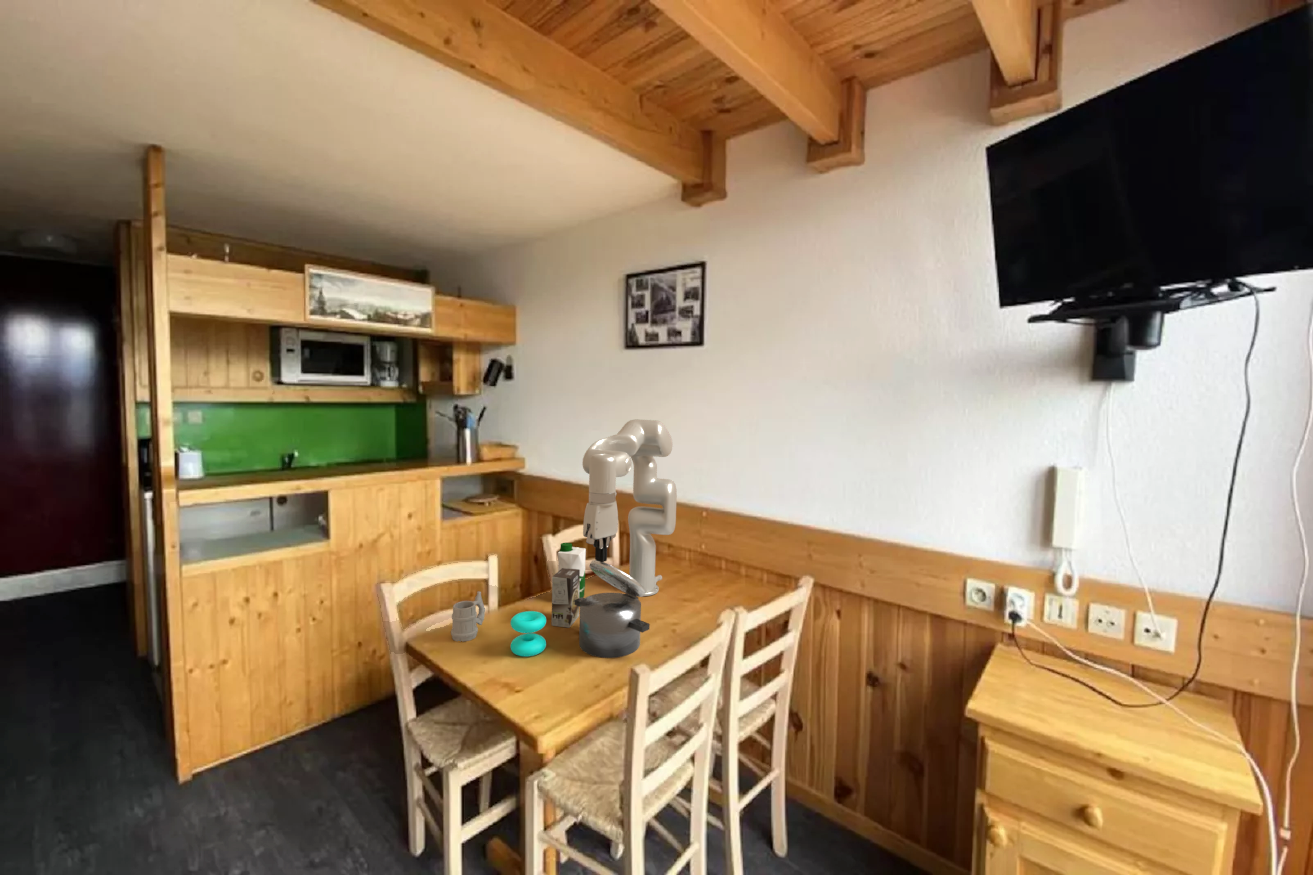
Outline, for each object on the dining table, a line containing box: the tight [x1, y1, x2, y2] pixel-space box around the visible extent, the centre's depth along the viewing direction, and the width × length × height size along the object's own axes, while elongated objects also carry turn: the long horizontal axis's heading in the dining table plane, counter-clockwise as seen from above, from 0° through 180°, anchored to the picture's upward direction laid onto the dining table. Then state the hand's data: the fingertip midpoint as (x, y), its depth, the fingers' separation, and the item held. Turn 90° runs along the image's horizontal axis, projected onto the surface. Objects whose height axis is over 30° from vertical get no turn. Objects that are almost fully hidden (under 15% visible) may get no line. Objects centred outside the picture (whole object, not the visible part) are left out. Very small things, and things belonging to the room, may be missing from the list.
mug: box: [450, 590, 486, 642], centre depth 169 cm, size 8×12×12 cm, turn 152°
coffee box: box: [551, 568, 580, 628], centre depth 180 cm, size 9×6×16 cm
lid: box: [589, 559, 645, 598], centre depth 167 cm, size 18×18×3 cm
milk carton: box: [557, 542, 587, 598], centre depth 197 cm, size 9×9×20 cm
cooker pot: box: [575, 592, 651, 659], centre depth 166 cm, size 18×28×12 cm, turn 50°
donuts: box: [510, 610, 547, 657], centre depth 160 cm, size 10×10×10 cm
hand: (600, 560), depth 161 cm, fingers closed
